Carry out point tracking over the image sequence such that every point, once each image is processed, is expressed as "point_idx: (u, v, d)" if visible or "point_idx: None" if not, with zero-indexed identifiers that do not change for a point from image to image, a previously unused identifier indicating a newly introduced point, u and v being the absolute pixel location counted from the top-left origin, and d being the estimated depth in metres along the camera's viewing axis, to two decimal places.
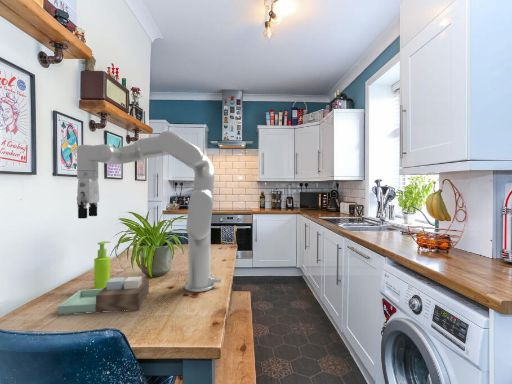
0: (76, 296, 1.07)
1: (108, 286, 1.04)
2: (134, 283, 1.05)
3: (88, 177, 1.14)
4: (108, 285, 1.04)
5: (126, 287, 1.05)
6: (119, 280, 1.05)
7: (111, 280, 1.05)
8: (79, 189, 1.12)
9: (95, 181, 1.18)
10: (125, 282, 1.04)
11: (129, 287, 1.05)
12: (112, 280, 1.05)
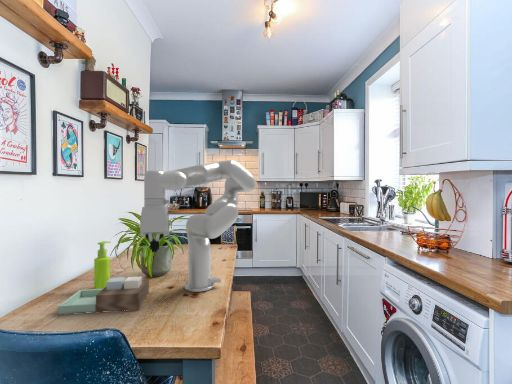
0: (76, 296, 1.07)
1: (108, 286, 1.04)
2: (134, 283, 1.05)
3: None
4: (108, 285, 1.04)
5: (126, 287, 1.05)
6: (119, 280, 1.05)
7: (111, 280, 1.05)
8: (167, 218, 1.08)
9: None
10: (125, 282, 1.04)
11: (129, 287, 1.05)
12: (112, 280, 1.05)
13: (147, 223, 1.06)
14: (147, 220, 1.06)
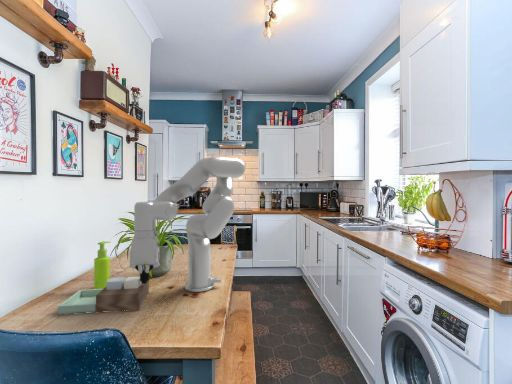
0: (76, 296, 1.07)
1: (108, 286, 1.04)
2: (134, 283, 1.05)
3: None
4: (108, 285, 1.04)
5: (126, 287, 1.05)
6: (119, 280, 1.05)
7: (111, 280, 1.05)
8: (157, 249, 1.07)
9: None
10: (125, 282, 1.04)
11: (128, 287, 1.05)
12: (112, 280, 1.05)
13: (137, 255, 1.05)
14: (137, 252, 1.05)
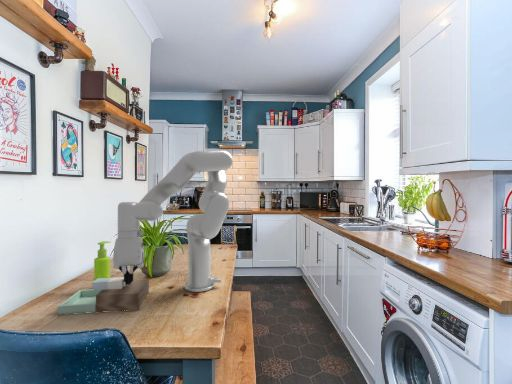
0: (76, 296, 1.07)
1: (94, 287, 1.03)
2: (117, 283, 1.04)
3: None
4: (94, 286, 1.03)
5: (109, 288, 1.04)
6: (105, 281, 1.05)
7: (97, 281, 1.05)
8: (141, 250, 1.06)
9: None
10: (108, 283, 1.04)
11: (112, 287, 1.04)
12: (98, 281, 1.05)
13: (120, 256, 1.04)
14: (120, 253, 1.04)
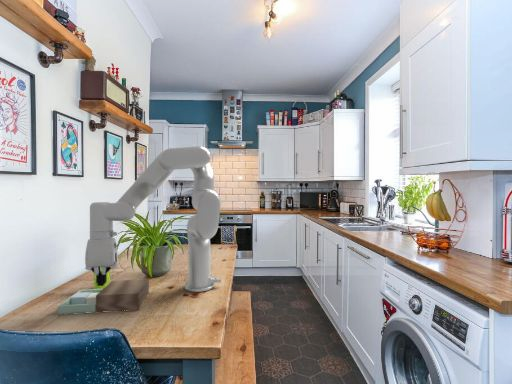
0: None
1: (83, 300, 1.03)
2: None
3: None
4: (83, 301, 1.03)
5: None
6: None
7: None
8: (114, 251, 1.05)
9: None
10: (87, 299, 1.03)
11: (91, 303, 1.03)
12: None
13: (92, 257, 1.03)
14: (92, 254, 1.03)
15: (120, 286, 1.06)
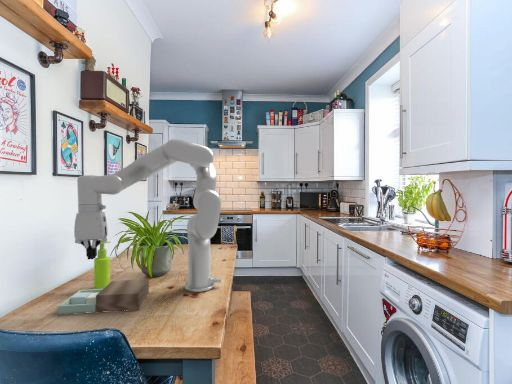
0: None
1: (83, 300, 1.03)
2: None
3: (101, 210, 1.07)
4: (83, 301, 1.03)
5: None
6: None
7: None
8: (103, 224, 1.05)
9: None
10: (87, 299, 1.03)
11: (91, 303, 1.03)
12: None
13: (81, 230, 1.02)
14: (81, 227, 1.02)
15: (120, 286, 1.06)
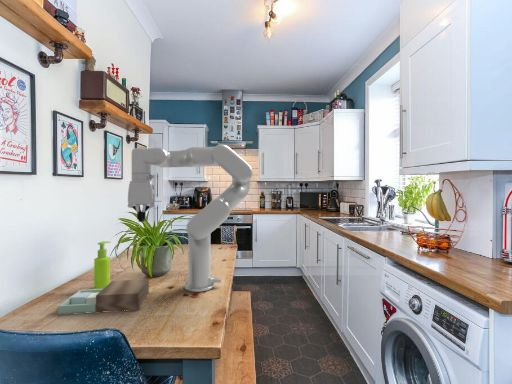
0: None
1: (83, 300, 1.03)
2: None
3: None
4: (83, 301, 1.03)
5: None
6: None
7: None
8: (152, 191, 1.19)
9: None
10: (87, 299, 1.03)
11: (91, 303, 1.03)
12: None
13: (134, 195, 1.17)
14: (134, 193, 1.17)
15: (120, 286, 1.06)
